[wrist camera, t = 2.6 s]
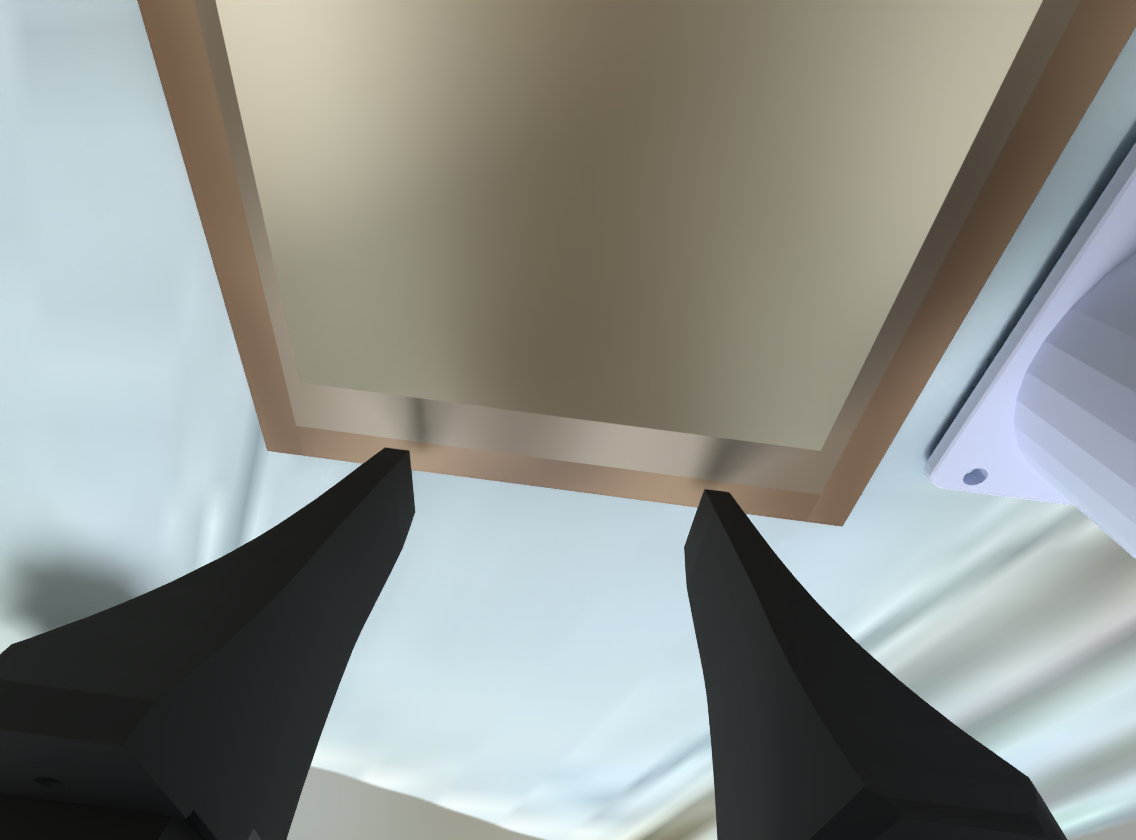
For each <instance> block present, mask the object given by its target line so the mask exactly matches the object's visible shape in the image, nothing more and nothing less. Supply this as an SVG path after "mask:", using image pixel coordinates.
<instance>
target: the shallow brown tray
mask: <svg viewBox="0 0 1136 840" xmlns="http://www.w3.org/2000/svg"><path fill="white" fill-rule="evenodd" d="M137 1H138V4H139V8H140V11H141V15H142V18H143V22H144V25H145V29H146V32H147V35H148V39H149V42H150V46H151V49H152V53H153V56H154V60H155V63H156V67H157V70H158V74H159V77H160V80H161V84H162V87H163V91H164V94H165V98H166V101H167V105H168V108H169V112H170V115H171V119H172V122H173V126H174V129H175V132H176V136H177V139H178V143H179V146H180V150H181V153H182V157H183V160H184V164H185V167H186V171H187V174H188V177H189V181H190V184H191V188H192V191H193V195H194V198H195V202H196V205H197V209H198V212H199V216H200V219H201V223H202V226H203V229H204V233H205V236H206V240H207V243H208V247H209V250H210V254H211V257H212V261H213V264H214V268H215V271H216V275H217V278H218V281H219V285H220V288H221V292H222V295H223V299H224V302H225V306H226V309H227V313H228V316H229V320H230V323H231V326H232V330H233V333H234V337H235V340H236V344H237V347H238V351H239V354H240V358H241V361H242V365H243V368H244V372H245V375H246V378H247V382H248V385H249V389H250V392H251V396H252V399H253V403H254V406H255V410H256V413H257V417H258V420H259V423H260V427H261V430H262V434H263V437H264V441H265V444H266V448H267V451H273V452H280V453H288V454H295V455H303V456H311V457H318V458H326V459H333V460H341V461H349V462H356V463H365V462H366V461H367V460H369V459H370V458H371V457H372V456H374V455H375V454H377V453H378V452H379V451H381V450H382V449H383V448H385V447H386V448H394V449H402V450H409V451H410V460H411V470H417V471H425V472H432V473H440V474H447V475H455V476H463V477H470V478H478V479H486V480H493V481H501V482H508V483H516V484H524V485H531V486H539V487H546V488H554V489H562V490H569V491H577V492H584V493H592V494H600V495H607V496H615V497H622V498H630V499H638V500H645V501H653V502H660V503H668V504H676V505H683V506H691V507H698V506H699V503H700V500H701V497H702V494H703V491H704V489H709V490H717V491H724V492H730V494H731V495H732V496H733V498H734V499H735V500H736V502H737V503H738V504H739V506H740V507H741V509H742V510H743V511H744V513H745V514H752V515H759V516H767V517H775V518H782V519H790V520H797V521H805V522H813V523H820V524H828V525H835V526H843V525H844V523H845V521H846V520H847V518H848V516H849V514H850V513H851V511H852V509H853V508H854V506H855V504H856V503H857V501H858V499H859V497H860V496H861V494H862V492H863V491H864V489H865V487H866V485H867V484H868V482H869V480H870V479H871V477H872V475H873V474H874V472H875V470H876V468H877V467H878V465H879V463H880V462H881V460H882V458H883V457H884V455H885V453H886V451H887V450H888V448H889V446H890V445H891V443H892V441H893V439H894V438H895V436H896V434H897V433H898V431H899V429H900V428H901V426H902V424H903V422H904V421H905V419H906V417H907V416H908V414H909V412H910V410H911V409H912V407H913V405H914V404H915V402H916V400H917V399H918V397H919V395H920V393H921V392H922V390H923V388H924V387H925V385H926V383H927V382H928V380H929V378H930V376H931V375H932V373H933V371H934V370H935V368H936V366H937V364H938V363H939V361H940V359H941V358H942V356H943V354H944V353H945V351H946V349H947V347H948V346H949V344H950V342H951V341H952V339H953V337H954V335H955V334H956V332H957V330H958V329H959V327H960V325H961V324H962V322H963V320H964V318H965V317H966V315H967V313H968V312H969V310H970V308H971V307H972V305H973V303H974V301H975V300H976V298H977V296H978V295H979V293H980V291H981V289H982V288H983V286H984V284H985V283H986V281H987V279H988V278H989V276H990V274H991V272H992V271H993V269H994V267H995V266H996V264H997V262H998V260H999V259H1000V257H1001V255H1002V254H1003V252H1004V250H1005V249H1006V247H1007V245H1008V243H1009V242H1010V240H1011V238H1012V237H1013V235H1014V233H1015V232H1016V230H1017V228H1018V226H1019V225H1020V223H1021V221H1022V220H1023V218H1024V216H1025V214H1026V213H1027V211H1028V209H1029V208H1030V206H1031V204H1032V203H1033V201H1034V199H1035V197H1036V196H1037V194H1038V192H1039V191H1040V189H1041V187H1042V185H1043V184H1044V182H1045V180H1046V179H1047V177H1048V175H1049V174H1050V172H1051V170H1052V168H1053V167H1054V165H1055V163H1056V162H1057V160H1058V158H1059V157H1060V155H1061V153H1062V151H1063V150H1064V148H1065V146H1066V145H1067V143H1068V141H1069V139H1070V138H1071V136H1072V134H1073V133H1074V131H1075V129H1076V128H1077V126H1078V124H1079V122H1080V121H1081V119H1082V117H1083V116H1084V114H1085V112H1086V110H1087V109H1088V107H1089V105H1090V104H1091V102H1092V100H1093V99H1094V97H1095V95H1096V93H1097V92H1098V90H1099V88H1100V87H1101V85H1102V83H1103V82H1104V80H1105V78H1106V76H1107V75H1108V73H1109V71H1110V70H1111V68H1112V66H1113V64H1114V63H1115V61H1116V59H1117V58H1118V56H1119V54H1120V53H1121V51H1122V49H1123V47H1124V46H1125V44H1126V42H1127V41H1128V39H1129V37H1130V35H1131V34H1132V32H1133V30H1134V29H1135V27H1136V0H1043V1H1042V3H1041V5H1040V7H1039V9H1038V11H1037V13H1036V15H1035V17H1034V19H1033V22H1032V24H1031V26H1030V28H1029V30H1028V32H1027V34H1026V36H1025V38H1024V40H1023V42H1022V44H1021V46H1020V48H1019V50H1018V52H1017V54H1016V56H1015V58H1014V60H1013V62H1012V64H1011V66H1010V68H1009V70H1008V72H1007V74H1006V76H1005V78H1004V80H1003V82H1002V84H1001V86H1000V88H999V90H998V92H997V94H996V97H995V99H994V101H993V103H992V105H991V107H990V109H989V111H988V113H987V115H986V117H985V119H984V121H983V123H982V125H981V127H980V129H979V131H978V133H977V135H976V137H975V139H974V141H973V143H972V145H971V147H970V149H969V151H968V153H967V155H966V157H965V159H964V161H963V163H962V165H961V167H960V170H959V172H958V174H957V176H956V178H955V180H954V182H953V184H952V186H951V188H950V190H949V192H948V194H947V196H946V198H945V200H944V202H943V204H942V206H941V208H940V210H939V212H938V214H937V216H936V218H935V220H934V222H933V224H932V226H931V228H930V230H929V232H928V234H927V236H926V238H925V240H924V242H923V245H922V247H921V249H920V251H919V253H918V255H917V257H916V259H915V261H914V263H913V265H912V267H911V269H910V271H909V273H908V275H907V277H906V279H905V281H904V283H903V285H902V287H901V289H900V291H899V293H898V295H897V297H896V299H895V301H894V303H893V305H892V307H891V309H890V311H889V313H888V315H887V318H886V320H885V322H884V324H883V326H882V328H881V330H880V332H879V334H878V336H877V338H876V340H875V342H874V344H873V346H872V348H871V350H870V352H869V354H868V356H867V358H866V360H865V362H864V364H863V366H862V368H861V370H860V372H859V374H858V376H857V378H856V380H855V382H854V384H853V386H852V388H851V390H850V393H849V395H848V397H847V399H846V401H845V403H844V405H843V407H842V409H841V411H840V413H839V415H838V417H837V419H836V421H835V423H834V425H833V427H832V429H831V431H830V433H829V435H828V437H827V439H826V441H825V443H824V445H823V447H822V449H821V451H817V450H810V449H802V448H795V447H787V446H779V445H772V444H764V443H756V442H749V441H741V440H734V439H726V438H718V437H711V436H703V435H696V434H688V433H680V432H673V431H665V430H657V429H650V428H642V427H635V426H627V425H619V424H612V423H604V422H597V421H589V420H581V419H574V418H566V417H558V416H551V415H543V414H536V413H528V412H520V411H513V410H505V409H498V408H490V407H482V406H475V405H467V404H459V403H452V402H444V401H437V400H429V399H421V398H414V397H406V396H399V395H391V394H383V393H376V392H368V391H360V390H353V389H345V388H338V387H330V386H322V385H315V384H307V383H300V380H299V376H298V371H297V367H296V362H295V358H294V353H293V349H292V344H291V340H290V335H289V330H288V326H287V321H286V317H285V312H284V308H283V303H282V299H281V294H280V290H279V285H278V281H277V276H276V272H275V267H274V263H273V258H272V254H271V249H270V245H269V240H268V236H267V231H266V226H265V222H264V217H263V213H262V208H261V204H260V199H259V195H258V190H257V186H256V181H255V177H254V172H253V168H252V163H251V159H250V154H249V150H248V145H247V141H246V136H245V132H244V127H243V123H242V118H241V113H240V109H239V104H238V100H237V95H236V91H235V86H234V82H233V77H232V73H231V68H230V64H229V59H228V55H227V50H226V46H225V41H224V37H223V32H222V28H221V23H220V19H219V14H218V9H217V5H216V0H137Z"/></svg>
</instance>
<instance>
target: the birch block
mask: <svg viewBox="0 0 1136 840" xmlns="http://www.w3.org/2000/svg"><path fill="white" fill-rule="evenodd" d="M1042 1H1043V0H216V5H217V9H218V14H219V19H220V23H221V28H222V32H223V37H224V41H225V46H226V50H227V55H228V59H229V64H230V68H231V73H232V77H233V82H234V86H235V91H236V95H237V100H238V104H239V109H240V113H241V118H242V123H243V127H244V132H245V136H246V141H247V145H248V150H249V154H250V159H251V163H252V168H253V172H254V177H255V181H256V186H257V190H258V195H259V199H260V204H261V208H262V213H263V217H264V222H265V226H266V231H267V236H268V240H269V245H270V249H271V254H272V258H273V263H274V267H275V272H276V276H277V281H278V285H279V290H280V294H281V299H282V303H283V308H284V312H285V317H286V321H287V326H288V330H289V335H290V340H291V344H292V349H293V353H294V358H295V362H296V367H297V371H298V376H299V380H300V383H307V384H315V385H322V386H330V387H338V388H345V389H353V390H360V391H368V392H376V393H383V394H391V395H399V396H406V397H414V398H421V399H429V400H437V401H444V402H452V403H459V404H467V405H475V406H482V407H490V408H498V409H505V410H513V411H520V412H528V413H536V414H543V415H551V416H558V417H566V418H574V419H581V420H589V421H597V422H604V423H612V424H619V425H627V426H635V427H642V428H650V429H657V430H665V431H673V432H680V433H688V434H696V435H703V436H711V437H718V438H726V439H734V440H741V441H749V442H756V443H764V444H772V445H779V446H787V447H795V448H802V449H810V450H817V451H821V449H822V447H823V445H824V443H825V441H826V439H827V437H828V435H829V433H830V431H831V429H832V427H833V425H834V423H835V421H836V419H837V417H838V415H839V413H840V411H841V409H842V407H843V405H844V403H845V401H846V399H847V397H848V395H849V393H850V390H851V388H852V386H853V384H854V382H855V380H856V378H857V376H858V374H859V372H860V370H861V368H862V366H863V364H864V362H865V360H866V358H867V356H868V354H869V352H870V350H871V348H872V346H873V344H874V342H875V340H876V338H877V336H878V334H879V332H880V330H881V328H882V326H883V324H884V322H885V320H886V318H887V315H888V313H889V311H890V309H891V307H892V305H893V303H894V301H895V299H896V297H897V295H898V293H899V291H900V289H901V287H902V285H903V283H904V281H905V279H906V277H907V275H908V273H909V271H910V269H911V267H912V265H913V263H914V261H915V259H916V257H917V255H918V253H919V251H920V249H921V247H922V245H923V242H924V240H925V238H926V236H927V234H928V232H929V230H930V228H931V226H932V224H933V222H934V220H935V218H936V216H937V214H938V212H939V210H940V208H941V206H942V204H943V202H944V200H945V198H946V196H947V194H948V192H949V190H950V188H951V186H952V184H953V182H954V180H955V178H956V176H957V174H958V172H959V170H960V167H961V165H962V163H963V161H964V159H965V157H966V155H967V153H968V151H969V149H970V147H971V145H972V143H973V141H974V139H975V137H976V135H977V133H978V131H979V129H980V127H981V125H982V123H983V121H984V119H985V117H986V115H987V113H988V111H989V109H990V107H991V105H992V103H993V101H994V99H995V97H996V94H997V92H998V90H999V88H1000V86H1001V84H1002V82H1003V80H1004V78H1005V76H1006V74H1007V72H1008V70H1009V68H1010V66H1011V64H1012V62H1013V60H1014V58H1015V56H1016V54H1017V52H1018V50H1019V48H1020V46H1021V44H1022V42H1023V40H1024V38H1025V36H1026V34H1027V32H1028V30H1029V28H1030V26H1031V24H1032V22H1033V19H1034V17H1035V15H1036V13H1037V11H1038V9H1039V7H1040V5H1041V3H1042Z"/></svg>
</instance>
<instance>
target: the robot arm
mask: <svg viewBox="0 0 1136 840" xmlns="http://www.w3.org/2000/svg"><path fill="white" fill-rule="evenodd" d="M974 469H975V470H974ZM971 470H974V471H972V472H971V473H968V472H969V471H971ZM924 472H925V475H926V476H927V477H928V479H929V480H930V481H931V482H932V483H933V484H934V485H935V486H936V487H939V488H943V489H950V490H958V491H965V492H973V493H981V494H988V495H996V496H1004V497H1011V498H1019V499H1026V500H1034V501H1042V502H1049V503H1057V504H1064V505H1072V506H1076V507H1077V508H1078V509H1079V510H1081V511H1082V512H1083V513H1084V514H1085V515H1086V516H1087V517H1089V518H1090V519H1091V520H1092V521H1093V522H1094V523H1095V524H1096V525H1098V526H1099V527H1100V528H1101V529H1102V530H1103V531H1104V532H1105V533H1107V534H1108V535H1109V536H1110V537H1111V538H1112V539H1113V540H1115V541H1116V542H1117V543H1118V544H1119V545H1120V546H1121V547H1122V548H1124V549H1125V550H1126V551H1127V552H1128V553H1129V554H1130V555H1132V556H1133V557H1134V558H1135V559H1136V142H1135V144H1134V146H1133V147H1132V149H1131V150H1130V152H1129V153H1128V155H1127V156H1126V158H1125V159H1124V161H1123V162H1122V164H1121V165H1120V167H1119V168H1118V170H1117V172H1116V173H1115V175H1114V176H1113V178H1112V179H1111V181H1110V182H1109V184H1108V185H1107V187H1106V188H1105V190H1104V191H1103V193H1102V194H1101V196H1100V198H1099V199H1098V201H1097V202H1096V204H1095V205H1094V207H1093V208H1092V210H1091V211H1090V213H1089V214H1088V216H1087V217H1086V219H1085V221H1084V222H1083V224H1082V225H1081V227H1080V228H1079V230H1078V231H1077V233H1076V234H1075V236H1074V237H1073V239H1072V240H1071V242H1070V243H1069V245H1068V247H1067V248H1066V250H1065V251H1064V253H1063V254H1062V256H1061V257H1060V259H1059V260H1058V262H1057V263H1056V265H1055V266H1054V268H1053V269H1052V271H1051V273H1050V274H1049V276H1048V277H1047V279H1046V280H1045V282H1044V283H1043V285H1042V286H1041V288H1040V289H1039V291H1038V292H1037V294H1036V296H1035V297H1034V299H1033V300H1032V302H1031V303H1030V305H1029V306H1028V308H1027V309H1026V311H1025V312H1024V314H1023V315H1022V317H1021V318H1020V320H1019V322H1018V323H1017V325H1016V326H1015V328H1014V329H1013V331H1012V332H1011V334H1010V335H1009V337H1008V338H1007V340H1006V341H1005V343H1004V344H1003V346H1002V348H1001V349H1000V351H999V352H998V354H997V355H996V357H995V358H994V360H993V361H992V363H991V364H990V366H989V367H988V369H987V371H986V372H985V374H984V375H983V377H982V378H981V380H980V381H979V383H978V384H977V386H976V387H975V389H974V390H973V392H972V393H971V395H970V397H969V398H968V400H967V401H966V403H965V404H964V406H963V407H962V409H961V410H960V412H959V413H958V415H957V416H956V418H955V419H954V421H953V423H952V424H951V426H950V427H949V429H948V430H947V432H946V433H945V435H944V436H943V438H942V439H941V441H940V442H939V444H938V446H937V447H936V449H935V450H934V452H933V453H932V455H931V456H930V458H929V459H928V461H927V462H926V465H925V467H924ZM967 473H968V474H967ZM965 474H966V475H965ZM414 514H415V505H414V493H413V482H412V471H411V460H410V451H409V450H402V449H394V448H386V447H385V448H383V449H382V450H381V451H379V452H378V453H377V454H375V455H374V456H372V457H371V458H370V459H369V460H367V461H366V462H365V463H363V464H362V465H361V466H359V467H358V468H357V469H355V470H354V471H353V472H352V473H350V474H349V475H348V476H346V477H345V478H344V479H342V480H341V481H340V482H338V483H337V484H336V485H334V486H333V487H332V488H330V489H329V490H327V491H326V492H325V493H323V494H322V495H321V496H319V497H318V498H317V499H315V500H314V501H312V502H311V503H309V504H308V505H306V506H305V507H303V508H302V509H300V510H299V511H298V512H296V513H295V514H293V515H292V516H290V517H289V518H287V519H286V520H284V521H283V522H281V523H280V524H278V525H276V526H275V527H273V528H272V529H270V530H268V531H267V532H265V533H263V534H262V535H260V536H258V537H257V538H255V539H253V540H252V541H250V542H248V543H246V544H244V545H243V546H241V547H239V548H237V549H236V550H234V551H232V552H230V553H228V554H226V555H225V556H223V557H221V558H219V559H217V560H215V561H213V562H211V563H209V564H207V565H205V566H203V567H201V568H199V569H197V570H195V571H193V572H190V573H188V574H186V575H184V576H182V577H180V578H178V579H176V580H174V581H172V582H170V583H168V584H166V585H163V586H161V587H159V588H157V589H154V590H152V591H150V592H148V593H145V594H143V595H141V596H138V597H136V598H134V599H131V600H129V601H126V602H124V603H122V604H119V605H117V606H114V607H112V608H110V609H107V610H104V611H102V612H99V613H97V614H94V615H92V616H89V617H87V618H84V619H81V620H78V621H76V622H73V623H70V624H67V625H65V626H62V627H59V628H56V629H54V630H51V631H48V632H45V633H43V634H40V635H37V636H34V637H32V638H29V639H26V640H23V641H20V642H17V643H14V644H11V645H10V646H9V647H8V648H7V649H6V650H5V651H3V652H2V653H1V654H0V840H286V839H287V836H288V833H289V829H290V826H291V823H292V820H293V817H294V814H295V811H296V808H297V804H298V801H299V798H300V795H301V791H302V788H303V786H304V783H305V780H306V777H307V774H308V771H309V768H310V765H311V762H312V759H313V756H314V753H315V750H316V748H317V745H318V742H319V739H320V736H321V733H322V730H323V728H324V725H325V722H326V719H327V717H328V714H329V711H330V708H331V706H332V703H333V700H334V697H335V695H336V692H337V689H338V687H339V684H340V681H341V679H342V676H343V674H344V671H345V669H346V666H347V663H348V661H349V658H350V656H351V653H352V650H353V648H354V646H355V644H356V641H357V639H358V637H359V635H360V633H361V630H362V628H363V626H364V624H365V623H366V621H367V619H368V617H369V615H370V613H371V611H372V609H373V607H374V605H375V603H376V601H377V599H378V597H379V595H380V593H381V591H382V589H383V587H384V585H385V583H386V581H387V579H388V577H389V575H390V573H391V571H392V569H393V567H394V565H395V563H396V561H397V559H398V557H399V555H400V553H401V550H402V548H403V546H404V543H405V540H406V537H407V535H408V532H409V529H410V526H411V523H412V520H413V517H414ZM684 552H685V570H686V584H687V591H688V596H689V602H690V607H691V612H692V618H693V623H694V628H695V633H696V638H697V643H698V648H699V654H700V659H701V664H702V669H703V674H704V681H705V687H706V694H707V703H708V714H709V724H710V735H711V747H712V760H713V773H714V786H715V804H716V821H717V839H718V840H1067V838H1066V837H1065V835H1064V833H1063V832H1062V830H1061V828H1060V827H1059V825H1058V823H1057V822H1056V820H1055V819H1054V817H1053V815H1052V814H1051V812H1050V810H1049V809H1048V807H1047V806H1046V804H1045V802H1044V801H1043V799H1042V797H1041V796H1040V794H1039V793H1038V791H1037V789H1036V788H1035V786H1034V785H1033V783H1032V782H1031V780H1030V779H1029V777H1027V776H1026V775H1025V774H1023V773H1022V772H1020V771H1019V770H1017V769H1016V768H1015V767H1013V766H1012V765H1010V764H1009V763H1008V762H1006V761H1005V760H1003V759H1002V758H1001V757H999V756H998V755H996V754H995V753H994V752H992V751H991V750H989V749H988V748H987V747H985V746H984V745H982V744H981V743H979V742H978V741H977V740H975V739H974V738H972V737H971V736H970V735H968V734H967V733H965V732H964V731H963V730H961V729H960V728H959V727H957V726H956V725H955V724H953V723H952V722H951V721H950V720H948V719H947V718H946V717H944V716H943V715H942V714H941V713H939V712H938V711H937V710H935V709H934V708H933V707H932V706H930V705H929V704H928V703H927V702H925V701H924V700H923V699H921V698H920V697H919V696H918V695H917V694H915V693H914V692H913V691H912V690H910V689H909V688H908V687H907V686H906V685H904V684H903V683H902V682H901V681H900V680H898V679H897V678H896V677H895V676H894V675H893V674H891V673H890V672H889V671H888V670H887V669H886V668H885V667H884V666H882V665H881V664H880V663H879V662H878V661H877V660H876V659H874V658H873V657H872V656H871V655H870V654H869V653H868V652H867V651H866V650H864V649H863V648H862V647H861V646H860V645H859V644H858V643H857V642H856V641H855V640H854V639H853V638H852V637H851V636H850V635H849V634H848V633H847V632H846V631H845V630H844V629H843V628H842V627H841V626H840V625H839V624H838V623H837V622H836V621H835V620H834V619H833V618H832V617H831V616H830V615H829V614H828V613H827V612H826V611H825V610H824V609H823V608H822V607H821V606H820V605H819V604H818V603H817V602H816V601H815V600H814V599H813V597H812V596H811V595H810V594H809V593H808V592H807V591H806V589H805V588H804V587H803V586H802V585H801V584H800V583H799V581H798V580H797V579H796V578H795V577H794V576H793V575H792V573H791V572H790V571H789V570H788V569H787V567H786V566H785V565H784V564H783V562H782V561H781V560H780V559H779V557H778V556H777V555H776V554H775V552H774V551H773V550H772V549H771V547H770V546H769V545H768V543H767V542H766V541H765V540H764V538H763V537H762V536H761V534H760V533H759V532H758V530H757V529H756V528H755V526H754V525H753V524H752V522H751V521H750V519H749V518H748V517H747V515H746V514H745V513H744V511H743V510H742V509H741V507H740V506H739V504H738V503H737V502H736V500H735V499H734V498H733V496H732V495H731V494H730V492H724V491H717V490H709V489H704V491H703V494H702V497H701V500H700V503H699V506H698V509H697V512H696V514H695V517H694V520H693V523H692V526H691V529H690V532H689V535H688V538H687V541H686V543H685V546H684Z"/></svg>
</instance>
